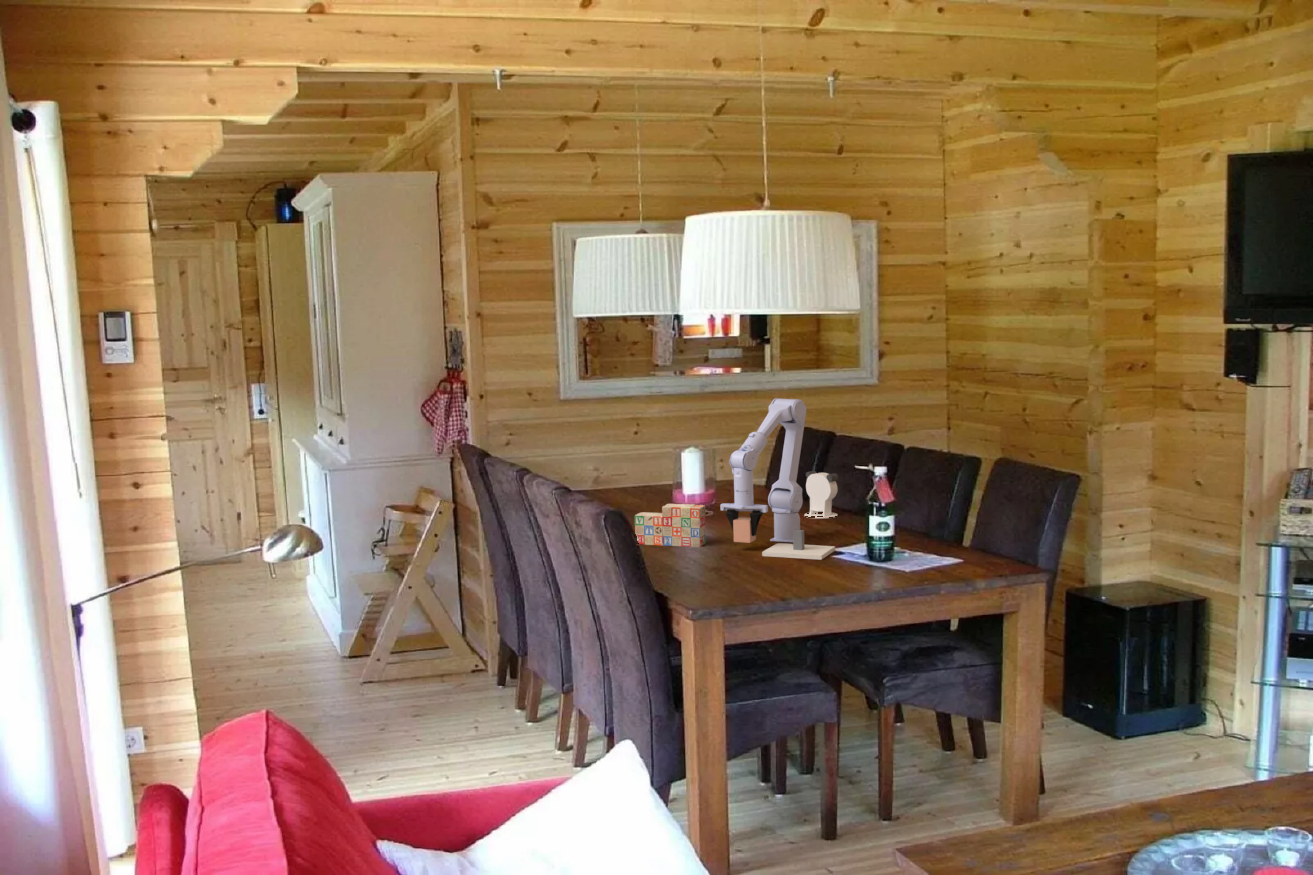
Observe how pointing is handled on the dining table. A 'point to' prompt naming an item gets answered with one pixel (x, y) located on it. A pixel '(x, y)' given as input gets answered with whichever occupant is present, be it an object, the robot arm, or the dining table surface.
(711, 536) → the dining table surface
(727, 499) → the dining table surface
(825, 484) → the beige rounded figure
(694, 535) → the stack of blocks
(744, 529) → the salmon orange block
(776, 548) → the post board
